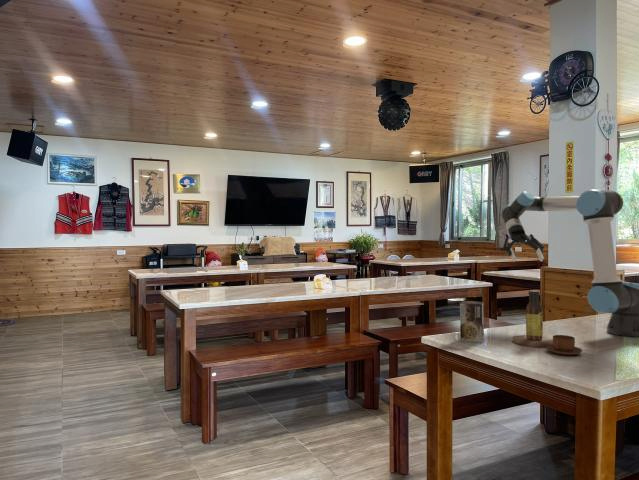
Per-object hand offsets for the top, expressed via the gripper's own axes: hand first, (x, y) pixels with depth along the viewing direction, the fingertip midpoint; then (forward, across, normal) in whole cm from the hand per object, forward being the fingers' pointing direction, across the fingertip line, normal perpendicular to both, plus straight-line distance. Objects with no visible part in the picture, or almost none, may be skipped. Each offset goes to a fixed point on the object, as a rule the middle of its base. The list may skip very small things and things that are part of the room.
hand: (528, 259), depth 228 cm
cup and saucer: (+60, +10, +14) cm, 62 cm away
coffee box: (+45, +38, -1) cm, 58 cm away
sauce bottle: (+47, +14, +3) cm, 49 cm away
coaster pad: (+48, +14, +3) cm, 50 cm away
